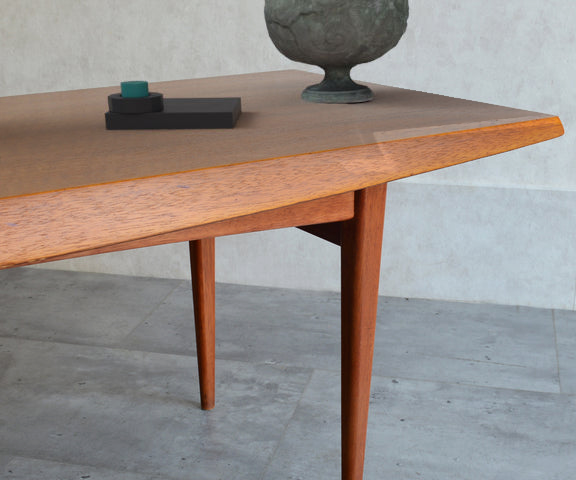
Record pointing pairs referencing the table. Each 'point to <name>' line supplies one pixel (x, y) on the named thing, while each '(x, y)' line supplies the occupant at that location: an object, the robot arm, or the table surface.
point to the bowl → (335, 39)
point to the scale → (171, 112)
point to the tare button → (134, 89)
